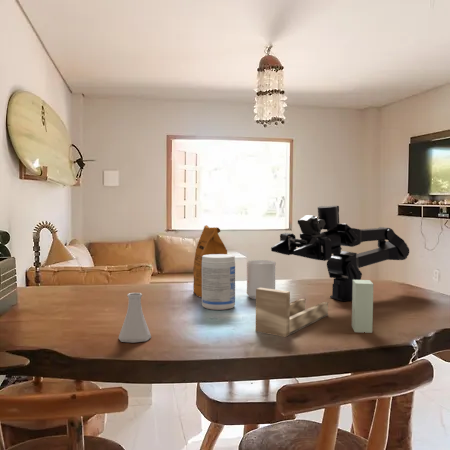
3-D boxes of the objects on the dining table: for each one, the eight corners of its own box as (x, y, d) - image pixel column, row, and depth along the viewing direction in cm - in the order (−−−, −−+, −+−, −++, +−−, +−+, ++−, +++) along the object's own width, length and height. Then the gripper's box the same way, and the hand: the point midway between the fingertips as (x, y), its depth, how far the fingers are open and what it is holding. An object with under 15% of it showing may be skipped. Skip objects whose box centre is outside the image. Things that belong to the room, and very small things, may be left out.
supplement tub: (238, 310, 131) (239, 257, 130) (205, 311, 128) (205, 258, 128) (230, 302, 140) (230, 253, 139) (199, 303, 138) (199, 253, 137)
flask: (120, 334, 107) (120, 290, 107) (152, 333, 108) (152, 290, 107) (115, 344, 100) (115, 297, 99) (150, 343, 101) (150, 297, 100)
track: (301, 311, 130) (301, 275, 129) (327, 315, 125) (328, 278, 125) (255, 331, 110) (255, 288, 110) (285, 337, 106) (285, 293, 105)
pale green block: (351, 326, 115) (352, 279, 114) (368, 326, 115) (369, 280, 114) (354, 332, 110) (355, 283, 109) (372, 332, 110) (373, 283, 109)
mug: (277, 300, 143) (278, 263, 143) (248, 300, 143) (249, 264, 142) (270, 292, 155) (270, 258, 155) (243, 292, 155) (244, 258, 154)
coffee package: (218, 290, 158) (218, 224, 156) (230, 297, 146) (231, 227, 145) (189, 291, 155) (189, 225, 153) (199, 299, 143) (199, 227, 142)
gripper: (298, 213, 146) (259, 220, 137) (345, 216, 130) (303, 224, 122) (301, 249, 147) (262, 258, 139) (347, 255, 131) (306, 266, 123)
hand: (282, 251), depth 130 cm, fingers open, 9 cm apart
